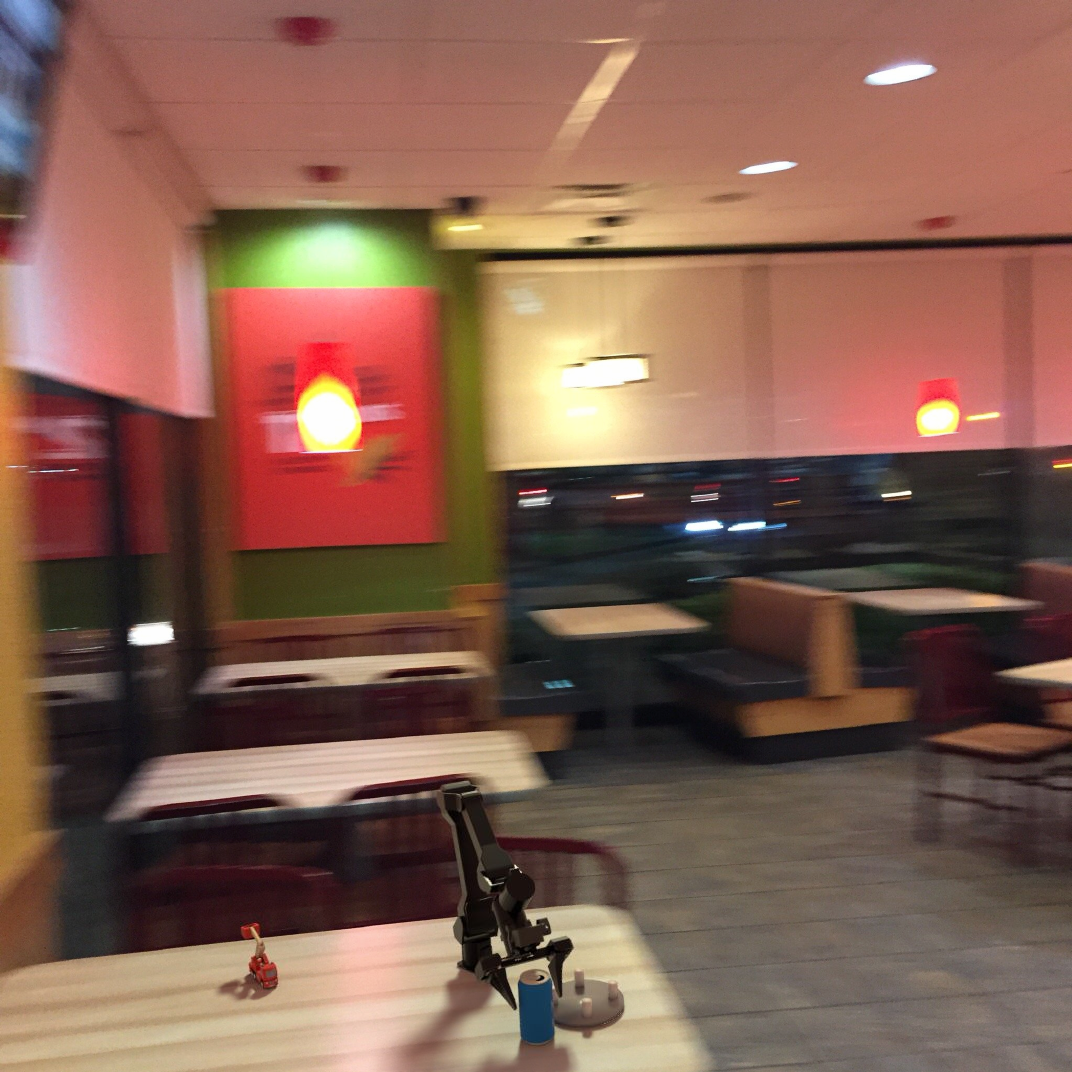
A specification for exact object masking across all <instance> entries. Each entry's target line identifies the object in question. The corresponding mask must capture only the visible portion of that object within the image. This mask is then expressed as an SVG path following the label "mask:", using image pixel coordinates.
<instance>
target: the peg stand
mask: <svg viewBox="0 0 1072 1072" xmlns="http://www.w3.org/2000/svg"><path fill="white" fill-rule="evenodd" d="M573 977H574V980H569V981H565V982H562V997H561V998H559V996H558V994H557V992H556V990H555V987H554V984H552V988H553V1007H554V1023H556V1024H558V1025H562V1026H565V1027H568V1028H569V1027H571V1028H576V1029H577V1028H580V1029H581V1028H582V1029H583V1028H585V1027H586V1028H593V1026H595V1027H600V1026H603V1025H605V1024H604V1023H606V1024H608V1023H607V1022H609V1021H611V1022H613V1021H614V1020H616V1019H617V1018H618V1017H619V1016H620V1015H621V1014H622V1013H623V1012H624V1010H625V1009H624V1008H625V999H624V998H625V997H624V994H623V993H622V990H620V988H619V985H618V984H619V982H618V981H617V980H616V979H610V980H608V981H607V982H605V981H601V980H596V979H587V978H586V979H585V969H584V968H582V967H576V968H574V969H573ZM620 1013H621V1014H620ZM618 1015H619V1016H618ZM615 1018H616V1019H615ZM613 1019H614V1020H613ZM612 1020H613V1021H612ZM609 1023H610V1022H609ZM602 1024H603V1025H602ZM599 1025H600V1026H599Z"/></svg>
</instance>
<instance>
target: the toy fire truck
mask: <svg viewBox="0 0 1072 1072" xmlns="http://www.w3.org/2000/svg"><path fill="white" fill-rule="evenodd" d="M240 933H241V936H242V937H243V939H244V940H249V939H251V938H254V939H255V941H256V946H255V952H254V955H253V956H250V962H248V971H249V973H250V974H251V975H250V976H251V977H252V976H253V979H254V978H255V979H256V981H257V982H258V983H259V984H260V985H261V988H262V987H264V988H263V989H268V988H273V987H275V986H277V985H278V984H279V978H278V974H279V973H278V968H277V965H276V963H275V962H273V961H271V962H270V960H269V958H268V956H267V954H266V953H265V950H266V945H265V941H264V940H262V939H261V937H260V925H259V924H258V923H255V922H254V923H251V924H248V925H244V926H241V927H240ZM255 979H254V980H255Z"/></svg>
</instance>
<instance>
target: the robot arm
mask: <svg viewBox="0 0 1072 1072" xmlns="http://www.w3.org/2000/svg"><path fill="white" fill-rule="evenodd" d="M439 789H440V790H438V791H437V790H436V796H435V797H436V802H437V803H436V804H437V805H438V807H439V808H440V813H441V815H442V817H443V819H445V820H446V822H448V824H449V825H450V827H451V833H452V834H451V835H452V838H453V839H452V841H453V845H454V851H455V859H456V863H457V869H458V873H459V875H458V876H459V881H460V886H461V897H460V900H459V903H458V905H457V918H456V919H455V921H454V924H453V925H452V931H453V937H454V938H455V939H456V942H458V943H459V944H460V945H461V960H460V961H458V962H456V966H457V967H459V968H462V969H464V970H466V971H469V972H471V973H473V974H475V978H476V981H477V982H478V983H480V982H484V984H485V985H490V986H491V987H492V988H493V989H494V990H496V991H497V992H498V993H499V994H500V996H501V997H502V998H503V999H504V1000H505V1002H506V1003H507V1004H508V1005H509V1006H510V1008H511V1009H512V1010H513V1011H517V1010H518V1006H517V1005H518V1004H517V1002H516V999H515V998H516V997H515V996H514V993H513V990H512V987H511V985H510V982H509V979H508V975H507V968H511V967H515V966H519V965H523V964H527V963H531V962H534V961H539V960H541V959H546V961H548V962H549V964H547V968H548V971H549V972H548V973H549V975H550V978H551V980H552V985H554V987H555V990H556V992H557V994H558V996H559V998H561V997H562V983H563V968H564V967H563V966H564V963H565V961H566V960H567V959H568V957H570V955H571V954H572V952H573V950H574V948H575V947H574V944H573V941H572V939H571V938H570V937H568V936H567V935H564V936H563V935H562V936H558V937H555V938H552V939H550V940H549V941H548V943H547V944H546V946H544V947H539V946H540V945H541V943H544V942H545V937H546V936H549V935H551V934H552V927H551V924H550V920H549V919H548V916H546V917H542V918H538V919H537V918H536V920H535V925H533V924H532V921H531V920H530V919H528V917H527V914H526V911H525V909H526V908H527V907H528V905H529V903H530V901H531V900H532V898H533V896H534V895H535V892H536V883H535V881H534V880H533V878H532V877H531V876H529V875H528V874H526V873H524V872H522V871H521V869H520V867H518V866H517V865H516V864H515V863H514V861H513V860H512V858H511V855H510V854H509V853H508V852H507V851H506V850H505V849H503V848H501V847H500V845H499V843H498V839H497V837H496V834H495V832H494V829H493V827H492V824H491V822H490V819H489V817H488V814H487V811H486V810H485V806H484V798H483V795H482V794H483V793H481V790H480V786H478V785H475V784H471V782H470V781H469V780H464V781H459V782H458V781H457V782H451V783H447V784H446V783H445V784H441V786H440V788H439ZM495 893H498V894H497V895H496V896H494V898H493V897H492V896H489V895H491V894H495ZM499 932H500V935H499ZM494 937H496V938H497V937H499V939H500V941H501V942H503V944H504V949H505V952H506V956H504V957H501V954H500V953H499V952H496V953H493V946H492V938H494ZM538 947H539V948H538Z"/></svg>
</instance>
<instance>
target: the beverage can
mask: <svg viewBox="0 0 1072 1072" xmlns="http://www.w3.org/2000/svg"><path fill="white" fill-rule="evenodd" d="M552 985H553V981H552V978H551V975H550V972H548V971H547V970H544V969H541V968H531V969H528V970H524V971H522V972H521V973H520V975H519V980H518V981H517V995H518V996H517V997H518V1016H519V1018H518V1019H519V1030H520V1031H519V1035H520V1038H521V1040H523V1041H524V1042H525V1043H527V1044H528V1045H531V1046H541V1045H546V1044H548V1043H549V1042H550V1041H551V1040H552V1039H553V1038H554V1037H555V1034H556V1030H555V1022H554V1007H553V988H552Z"/></svg>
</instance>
